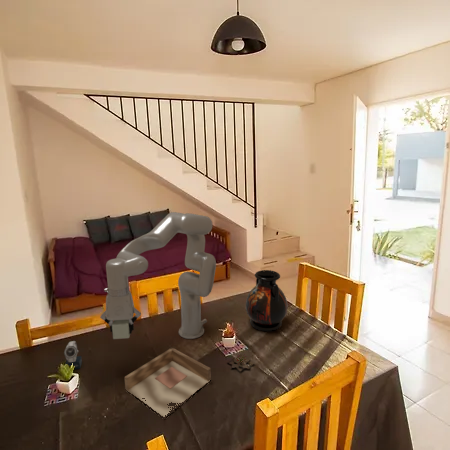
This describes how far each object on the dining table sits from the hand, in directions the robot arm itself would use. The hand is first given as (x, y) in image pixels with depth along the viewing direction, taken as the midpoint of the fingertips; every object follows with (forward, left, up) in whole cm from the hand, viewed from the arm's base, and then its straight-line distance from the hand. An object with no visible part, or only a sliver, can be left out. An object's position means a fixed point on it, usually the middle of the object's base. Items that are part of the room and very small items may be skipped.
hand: (122, 332), depth 130 cm
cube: (0, 0, -1) cm, 1 cm away
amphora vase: (-69, +25, -19) cm, 75 cm away
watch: (+11, -20, -19) cm, 30 cm away
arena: (-6, +20, -18) cm, 28 cm away
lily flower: (-34, +34, -19) cm, 52 cm away
